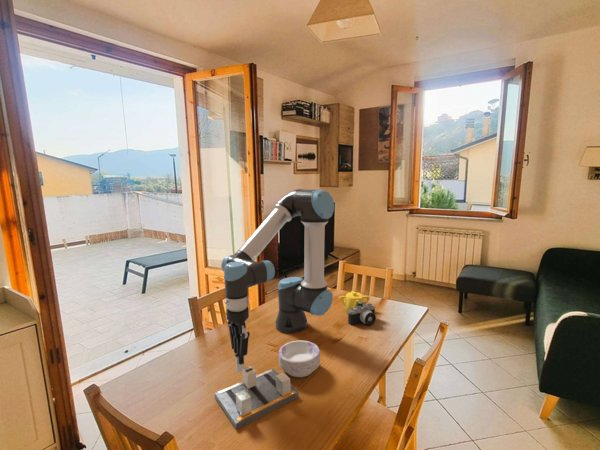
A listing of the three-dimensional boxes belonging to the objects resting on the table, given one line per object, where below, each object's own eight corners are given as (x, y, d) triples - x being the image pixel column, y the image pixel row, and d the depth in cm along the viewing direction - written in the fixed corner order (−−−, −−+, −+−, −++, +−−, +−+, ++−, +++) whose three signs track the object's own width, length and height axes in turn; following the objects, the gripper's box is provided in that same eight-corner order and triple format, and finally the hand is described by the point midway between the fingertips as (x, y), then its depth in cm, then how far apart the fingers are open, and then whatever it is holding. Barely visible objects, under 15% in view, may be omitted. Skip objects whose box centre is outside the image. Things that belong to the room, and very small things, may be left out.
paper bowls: (273, 363, 122) (272, 344, 121) (309, 354, 128) (309, 336, 127) (287, 387, 109) (287, 366, 107) (327, 376, 115) (327, 355, 113)
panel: (215, 398, 104) (213, 378, 103) (273, 373, 117) (272, 354, 115) (236, 429, 91) (234, 406, 90) (298, 397, 104) (298, 377, 103)
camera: (355, 331, 147) (356, 310, 145) (344, 323, 155) (345, 303, 153) (382, 323, 154) (382, 304, 152) (370, 316, 162) (370, 297, 160)
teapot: (373, 311, 167) (373, 293, 165) (357, 319, 159) (357, 299, 157) (352, 304, 177) (352, 286, 176) (336, 310, 169) (337, 292, 167)
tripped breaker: (242, 382, 108) (242, 368, 107) (250, 379, 110) (250, 365, 109) (248, 388, 105) (247, 374, 104) (256, 385, 107) (255, 370, 106)
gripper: (219, 304, 112) (222, 365, 116) (235, 317, 102) (238, 384, 105) (239, 298, 116) (241, 358, 120) (256, 311, 106) (258, 376, 110)
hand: (240, 370), depth 113 cm, fingers closed
